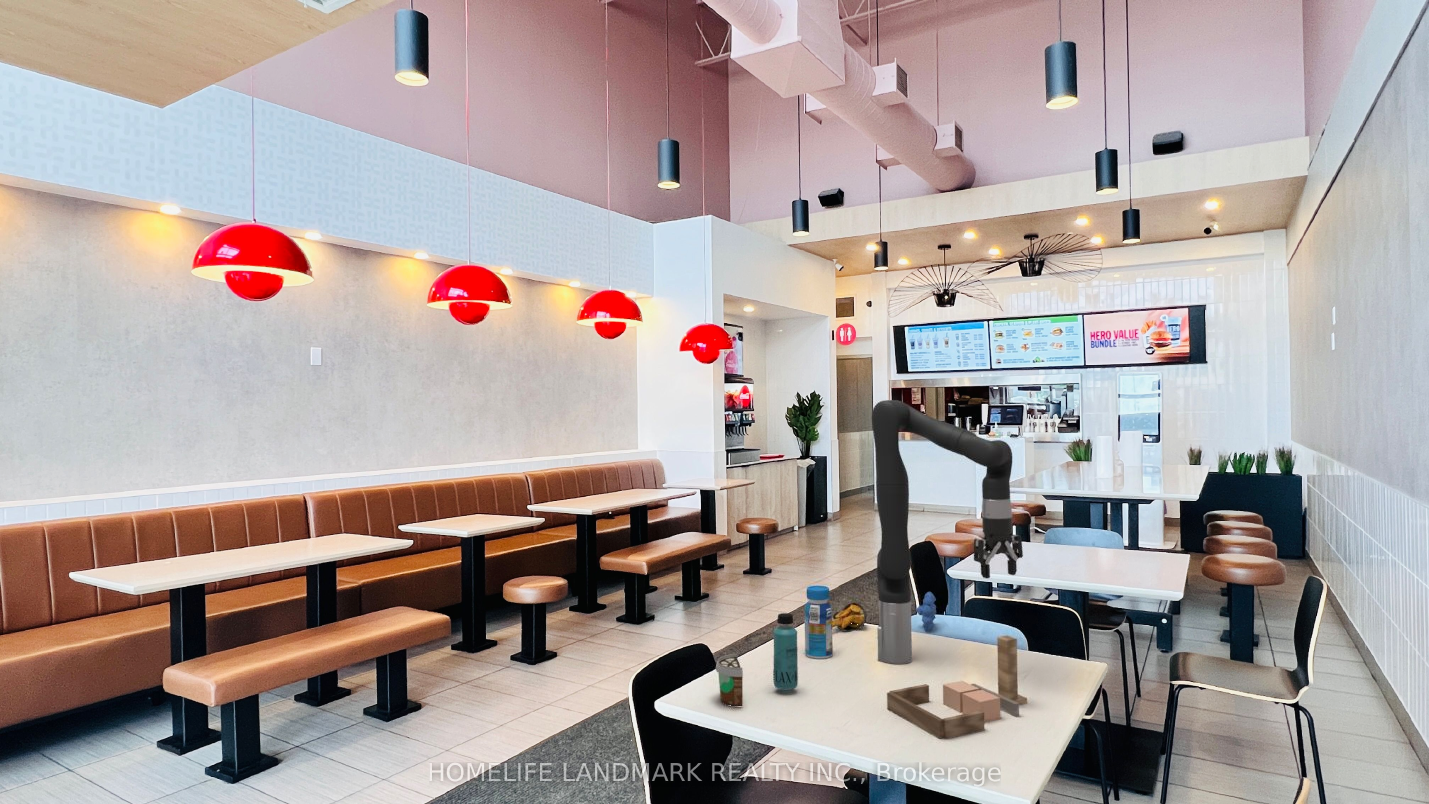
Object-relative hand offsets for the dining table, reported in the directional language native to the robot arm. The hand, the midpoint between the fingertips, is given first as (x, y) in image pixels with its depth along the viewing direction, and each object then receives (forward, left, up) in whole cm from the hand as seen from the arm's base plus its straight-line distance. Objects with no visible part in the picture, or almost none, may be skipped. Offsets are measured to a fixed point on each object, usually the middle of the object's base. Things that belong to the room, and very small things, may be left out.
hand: (999, 576), depth 212 cm
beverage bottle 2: (-51, +6, -28) cm, 59 cm away
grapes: (-24, +44, -28) cm, 58 cm away
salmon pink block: (-4, -27, -28) cm, 39 cm away
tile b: (-9, -22, -28) cm, 37 cm away
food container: (-64, -37, -28) cm, 79 cm away
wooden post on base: (+2, -16, -28) cm, 32 cm away
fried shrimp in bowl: (-49, +34, -28) cm, 66 cm away
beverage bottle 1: (-52, -26, -28) cm, 64 cm away
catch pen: (-14, -31, -28) cm, 44 cm away
